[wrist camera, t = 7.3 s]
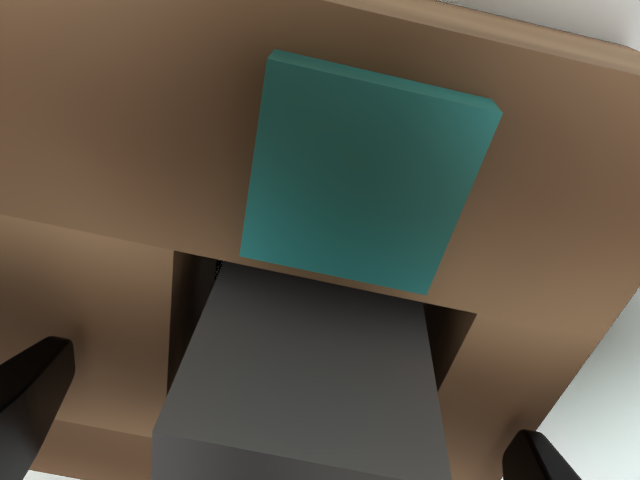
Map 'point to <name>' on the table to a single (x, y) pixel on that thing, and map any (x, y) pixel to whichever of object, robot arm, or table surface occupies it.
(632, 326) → the table surface
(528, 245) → the socket board
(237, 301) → the grey upright block
